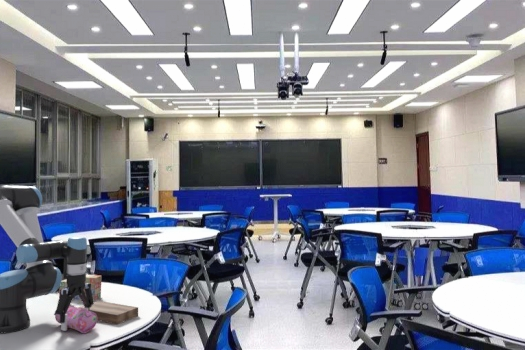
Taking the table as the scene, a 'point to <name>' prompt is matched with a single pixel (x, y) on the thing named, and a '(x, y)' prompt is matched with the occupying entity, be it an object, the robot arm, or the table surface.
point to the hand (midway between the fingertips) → (74, 326)
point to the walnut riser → (113, 312)
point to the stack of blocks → (95, 286)
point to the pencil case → (79, 319)
